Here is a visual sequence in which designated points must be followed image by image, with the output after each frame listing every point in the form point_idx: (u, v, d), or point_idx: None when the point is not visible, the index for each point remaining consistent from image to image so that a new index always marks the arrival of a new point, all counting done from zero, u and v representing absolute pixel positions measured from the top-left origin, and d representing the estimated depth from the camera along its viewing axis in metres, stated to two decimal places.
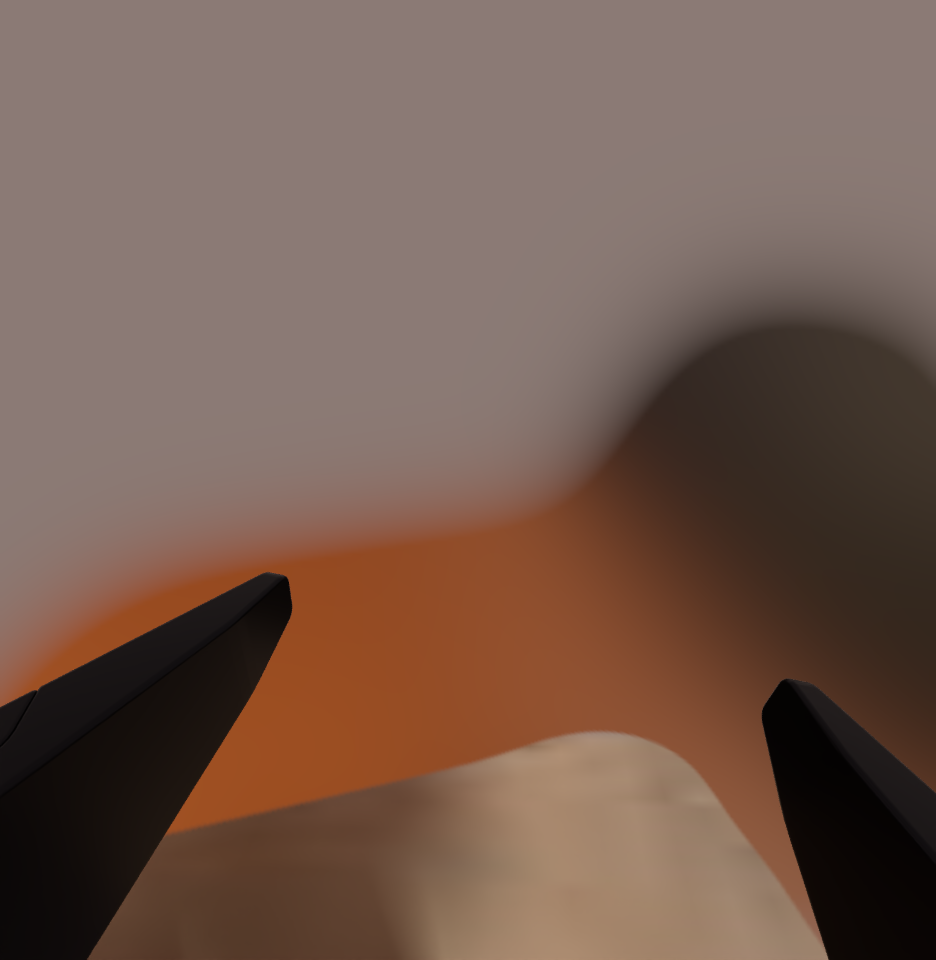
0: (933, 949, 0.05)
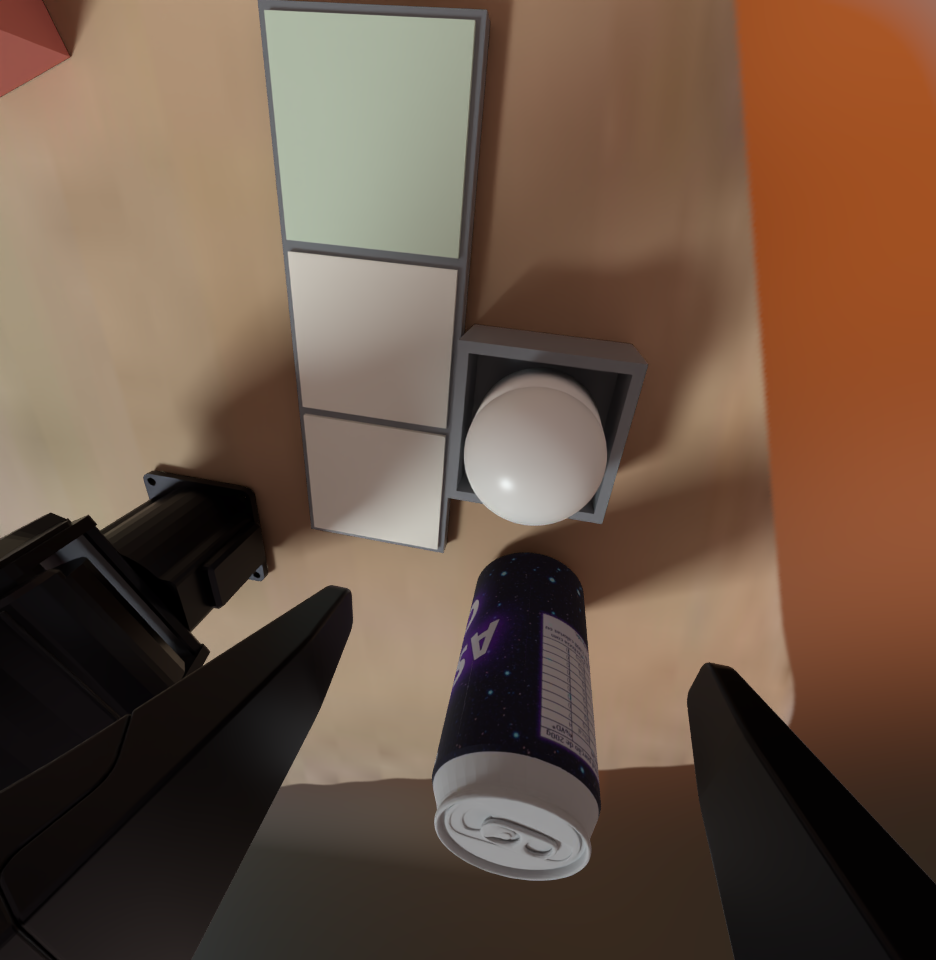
0: (806, 916, 0.05)
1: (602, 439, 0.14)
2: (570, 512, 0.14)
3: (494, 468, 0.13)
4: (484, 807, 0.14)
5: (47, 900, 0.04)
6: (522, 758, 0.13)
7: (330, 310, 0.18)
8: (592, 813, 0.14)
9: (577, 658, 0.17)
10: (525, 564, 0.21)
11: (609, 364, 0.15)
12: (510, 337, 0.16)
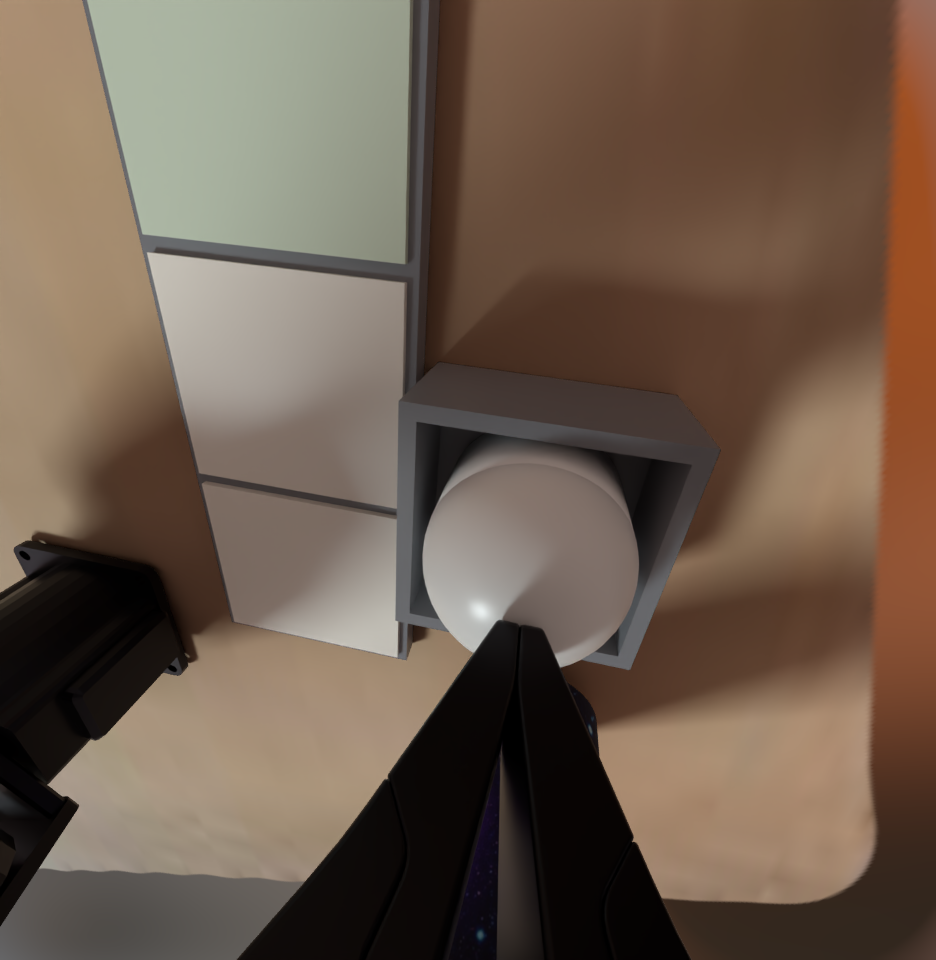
0: (519, 841, 0.05)
1: (633, 548, 0.09)
2: (582, 658, 0.09)
3: (461, 601, 0.08)
4: None
5: None
6: None
7: (220, 341, 0.12)
8: None
9: None
10: None
11: (652, 447, 0.09)
12: (488, 389, 0.10)
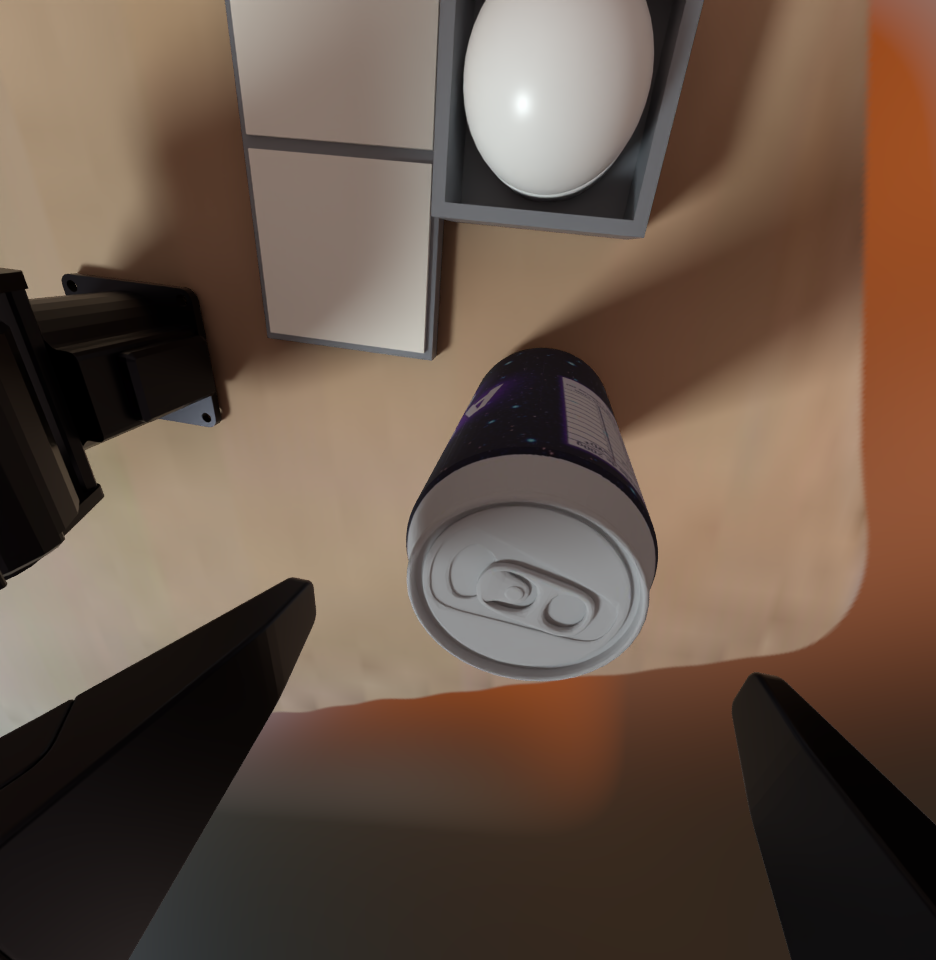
0: (881, 935, 0.05)
1: (650, 17, 0.10)
2: (605, 124, 0.10)
3: (504, 34, 0.10)
4: (482, 545, 0.09)
5: None
6: (542, 459, 0.08)
7: None
8: (648, 555, 0.09)
9: (611, 420, 0.13)
10: (536, 353, 0.16)
11: None
12: None
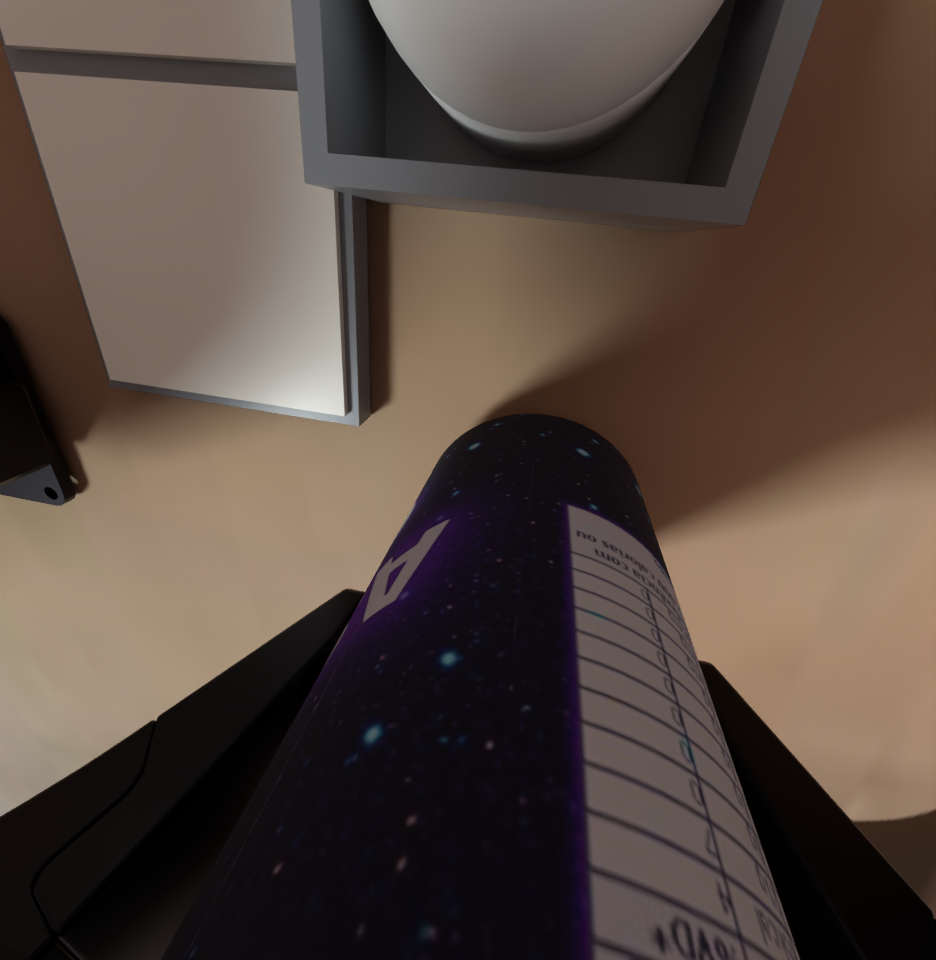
0: None
1: None
2: None
3: None
4: None
5: (82, 911, 0.04)
6: None
7: None
8: None
9: (674, 619, 0.06)
10: (522, 428, 0.10)
11: None
12: None
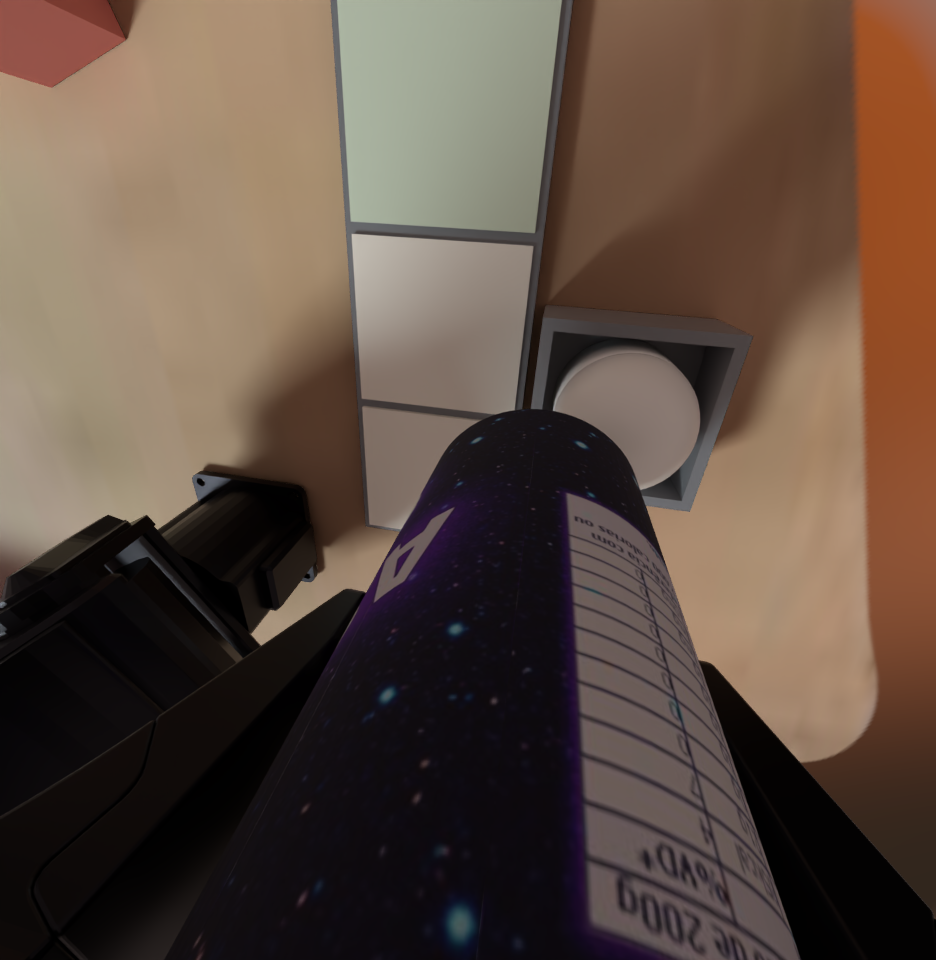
0: None
1: (697, 402, 0.14)
2: (666, 475, 0.14)
3: None
4: None
5: (82, 911, 0.04)
6: None
7: (395, 295, 0.17)
8: None
9: (667, 598, 0.06)
10: (522, 422, 0.10)
11: (709, 337, 0.14)
12: (592, 315, 0.15)
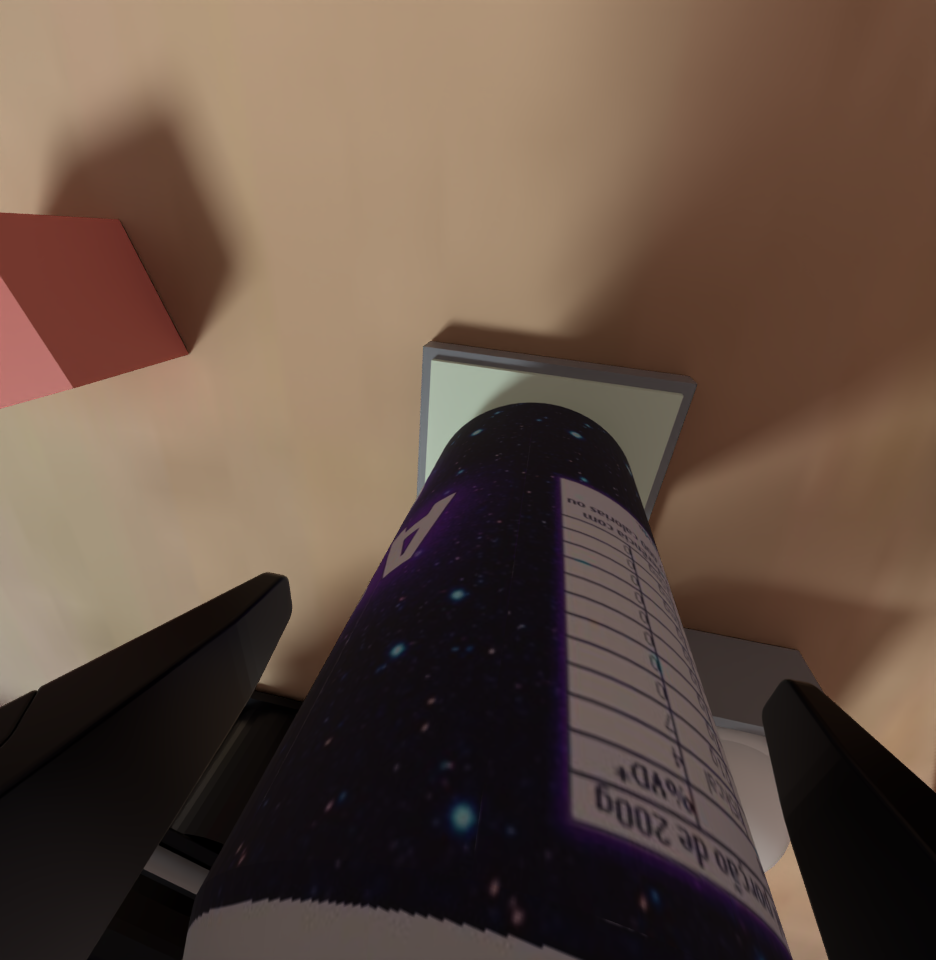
0: (934, 949, 0.05)
1: None
2: None
3: None
4: None
5: None
6: (488, 956, 0.03)
7: None
8: None
9: (654, 572, 0.07)
10: (520, 415, 0.10)
11: None
12: None
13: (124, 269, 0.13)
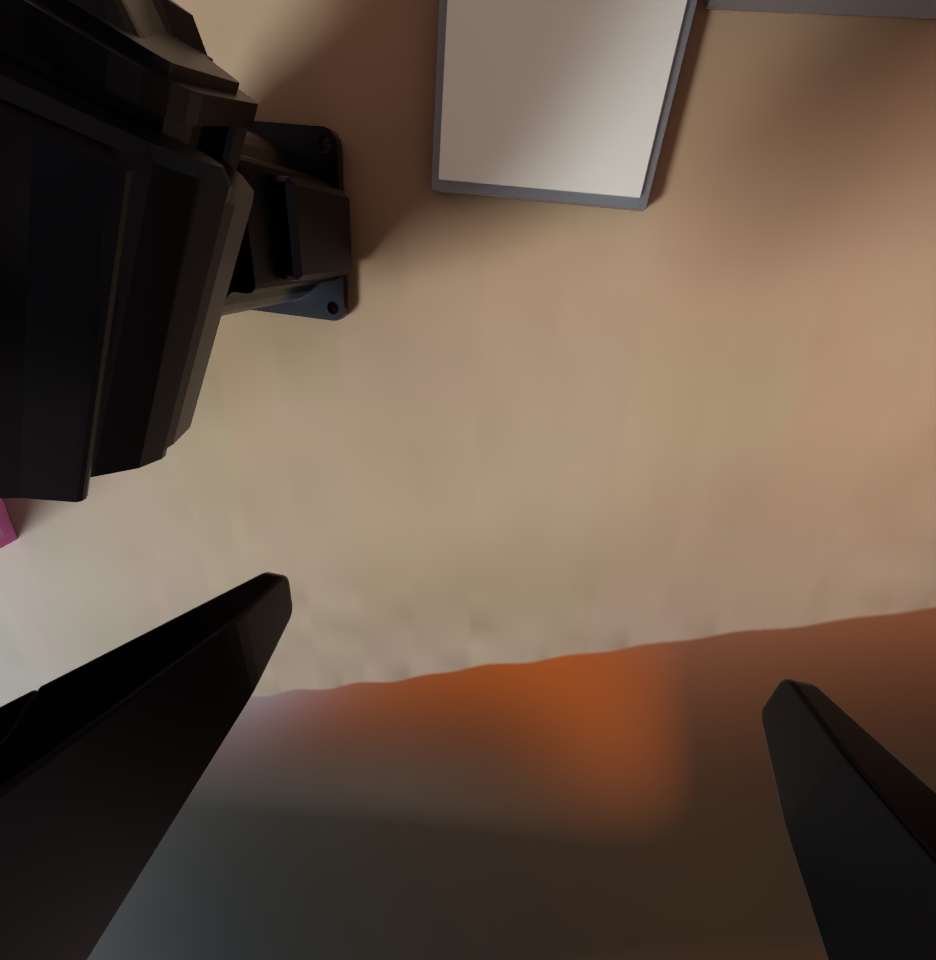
0: (933, 949, 0.05)
1: None
2: None
3: None
4: None
5: None
6: None
7: None
8: None
9: None
10: None
11: None
12: None
13: None
